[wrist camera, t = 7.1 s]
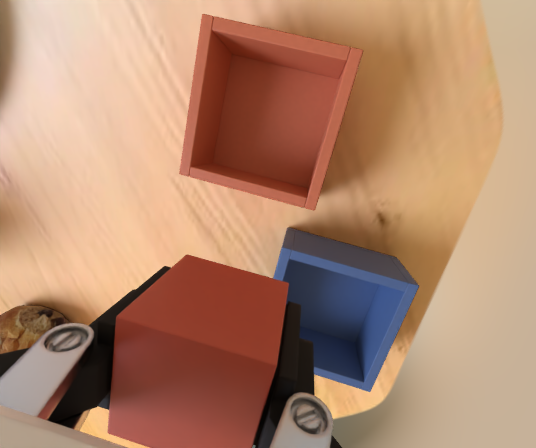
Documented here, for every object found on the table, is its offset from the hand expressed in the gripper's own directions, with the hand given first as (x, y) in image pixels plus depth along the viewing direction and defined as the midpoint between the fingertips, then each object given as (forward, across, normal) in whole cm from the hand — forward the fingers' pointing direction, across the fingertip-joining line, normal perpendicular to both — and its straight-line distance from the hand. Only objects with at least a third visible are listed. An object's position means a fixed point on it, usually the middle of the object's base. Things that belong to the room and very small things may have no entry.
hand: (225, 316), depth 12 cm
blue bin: (+16, -7, +6) cm, 18 cm away
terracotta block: (0, 0, 0) cm, 0 cm away
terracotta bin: (+16, +2, -8) cm, 18 cm away
